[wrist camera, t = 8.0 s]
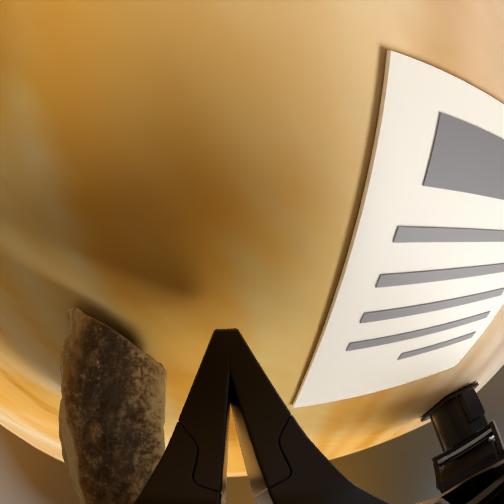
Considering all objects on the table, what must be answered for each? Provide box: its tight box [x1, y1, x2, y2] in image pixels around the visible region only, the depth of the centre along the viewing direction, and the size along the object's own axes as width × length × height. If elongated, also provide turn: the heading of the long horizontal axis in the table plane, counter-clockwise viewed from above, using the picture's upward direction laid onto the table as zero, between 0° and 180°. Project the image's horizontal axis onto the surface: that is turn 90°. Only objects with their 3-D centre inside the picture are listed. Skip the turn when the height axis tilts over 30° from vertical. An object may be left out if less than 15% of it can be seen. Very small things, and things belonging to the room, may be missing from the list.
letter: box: [292, 50, 504, 408], centre depth 11 cm, size 18×14×1 cm
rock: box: [59, 307, 167, 504], centre depth 10 cm, size 11×9×10 cm
